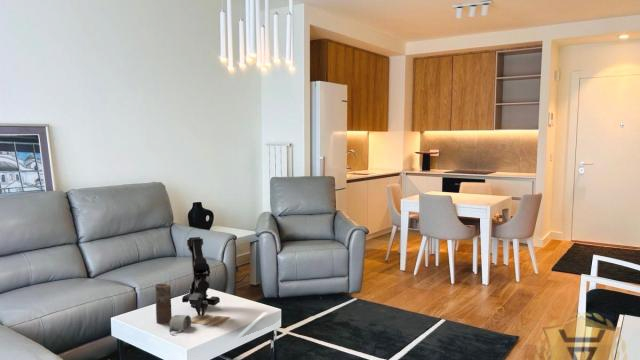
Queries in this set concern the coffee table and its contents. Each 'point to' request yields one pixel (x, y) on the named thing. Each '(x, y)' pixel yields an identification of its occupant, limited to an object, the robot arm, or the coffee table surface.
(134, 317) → the coffee table surface
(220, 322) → the floor board
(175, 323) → the ceramic mug
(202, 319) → the plank
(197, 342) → the coffee table surface
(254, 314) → the coffee table surface
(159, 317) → the candle
